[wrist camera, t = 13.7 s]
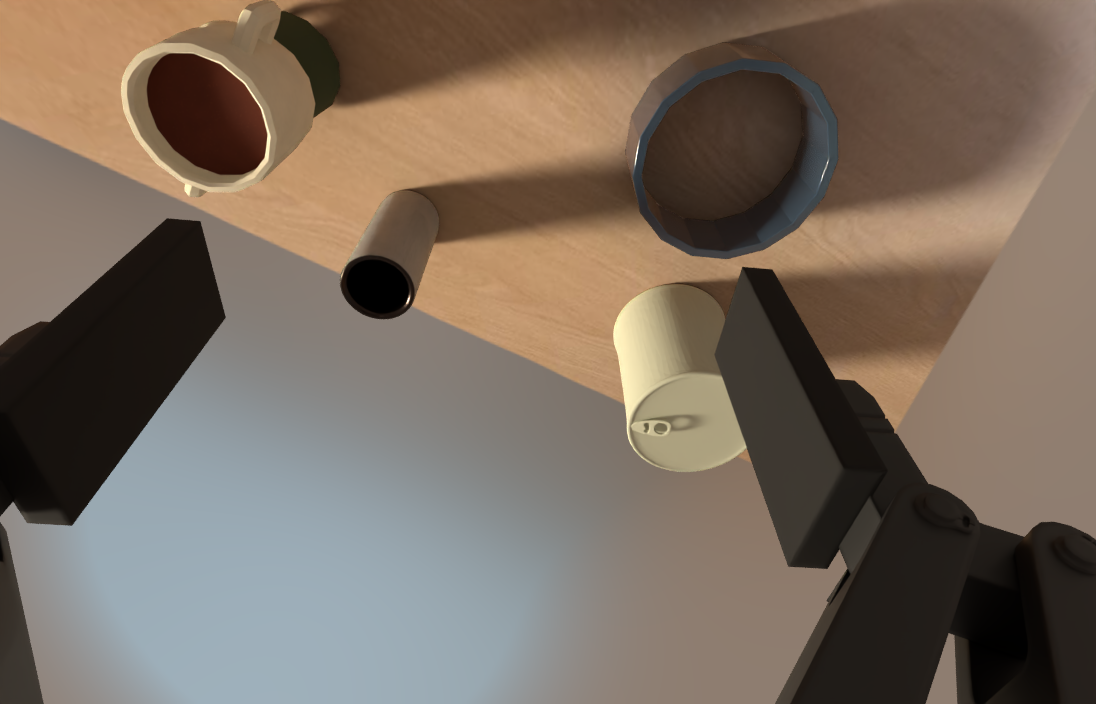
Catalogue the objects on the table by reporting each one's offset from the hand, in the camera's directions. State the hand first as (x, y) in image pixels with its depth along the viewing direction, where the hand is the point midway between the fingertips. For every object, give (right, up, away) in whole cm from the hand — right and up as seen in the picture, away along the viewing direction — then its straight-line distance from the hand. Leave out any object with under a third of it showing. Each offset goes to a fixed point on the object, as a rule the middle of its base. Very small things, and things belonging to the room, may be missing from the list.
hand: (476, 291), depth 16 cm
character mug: (-15, +17, +24) cm, 33 cm away
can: (+12, 0, +36) cm, 38 cm away
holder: (+13, +13, +27) cm, 33 cm away
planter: (-9, +9, +31) cm, 33 cm away
